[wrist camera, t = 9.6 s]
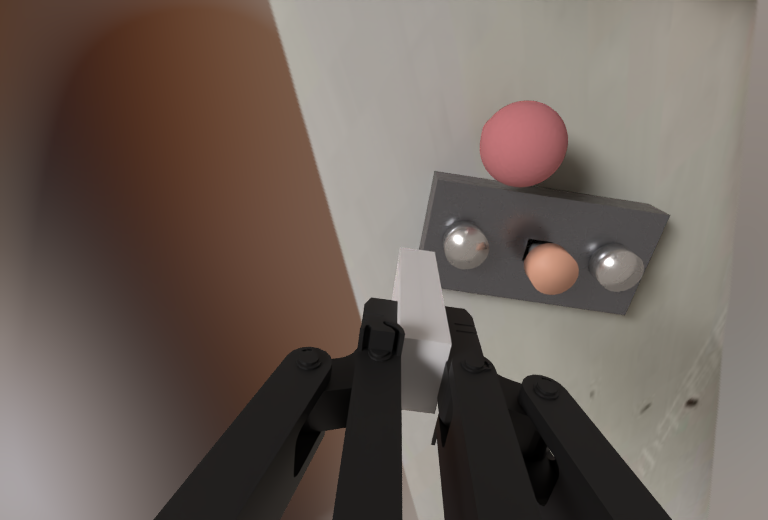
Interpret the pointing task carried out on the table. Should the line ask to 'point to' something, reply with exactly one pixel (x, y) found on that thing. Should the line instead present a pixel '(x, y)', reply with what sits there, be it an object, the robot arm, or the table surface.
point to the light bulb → (523, 143)
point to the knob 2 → (550, 268)
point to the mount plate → (536, 237)
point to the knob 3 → (616, 267)
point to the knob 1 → (465, 245)
